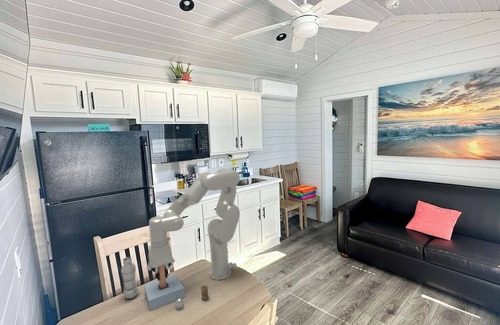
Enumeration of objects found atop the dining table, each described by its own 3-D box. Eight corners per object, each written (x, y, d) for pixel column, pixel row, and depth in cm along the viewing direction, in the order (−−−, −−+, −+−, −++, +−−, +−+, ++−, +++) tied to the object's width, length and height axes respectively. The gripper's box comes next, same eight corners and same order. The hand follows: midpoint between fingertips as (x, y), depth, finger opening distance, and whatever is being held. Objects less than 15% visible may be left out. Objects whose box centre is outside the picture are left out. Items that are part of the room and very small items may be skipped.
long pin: (165, 284, 124) (163, 262, 123) (167, 287, 122) (165, 265, 120) (159, 286, 123) (157, 264, 121) (160, 290, 120) (158, 267, 118)
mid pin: (207, 295, 122) (206, 284, 121) (209, 299, 119) (208, 287, 118) (200, 298, 120) (200, 286, 119) (203, 302, 117) (202, 290, 116)
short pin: (182, 304, 116) (181, 295, 116) (184, 308, 114) (183, 299, 113) (175, 307, 115) (174, 298, 114) (177, 311, 112) (176, 302, 111)
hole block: (176, 282, 133) (176, 274, 132) (184, 297, 121) (183, 287, 121) (145, 293, 125) (144, 284, 124) (150, 310, 113) (148, 300, 112)
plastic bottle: (121, 298, 122) (116, 260, 119) (133, 290, 128) (128, 254, 125) (129, 302, 119) (125, 263, 116) (141, 293, 125) (137, 256, 122)
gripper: (174, 235, 127) (176, 269, 129) (139, 244, 118) (143, 279, 121) (178, 240, 120) (181, 276, 123) (142, 250, 112) (145, 287, 114)
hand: (162, 277), depth 122 cm, fingers closed on long pin, 3 cm apart
